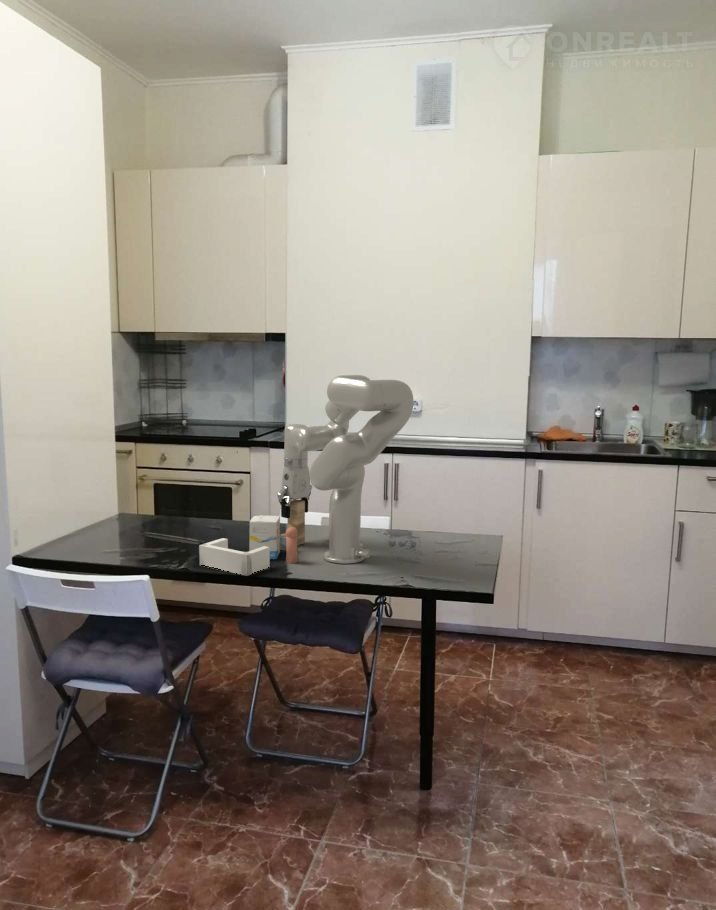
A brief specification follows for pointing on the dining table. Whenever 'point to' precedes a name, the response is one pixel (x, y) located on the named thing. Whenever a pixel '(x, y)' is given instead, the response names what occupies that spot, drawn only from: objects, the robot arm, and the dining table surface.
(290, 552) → the figure left
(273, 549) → the ink box
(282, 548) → the kicker
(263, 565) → the frame
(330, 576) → the dining table surface
